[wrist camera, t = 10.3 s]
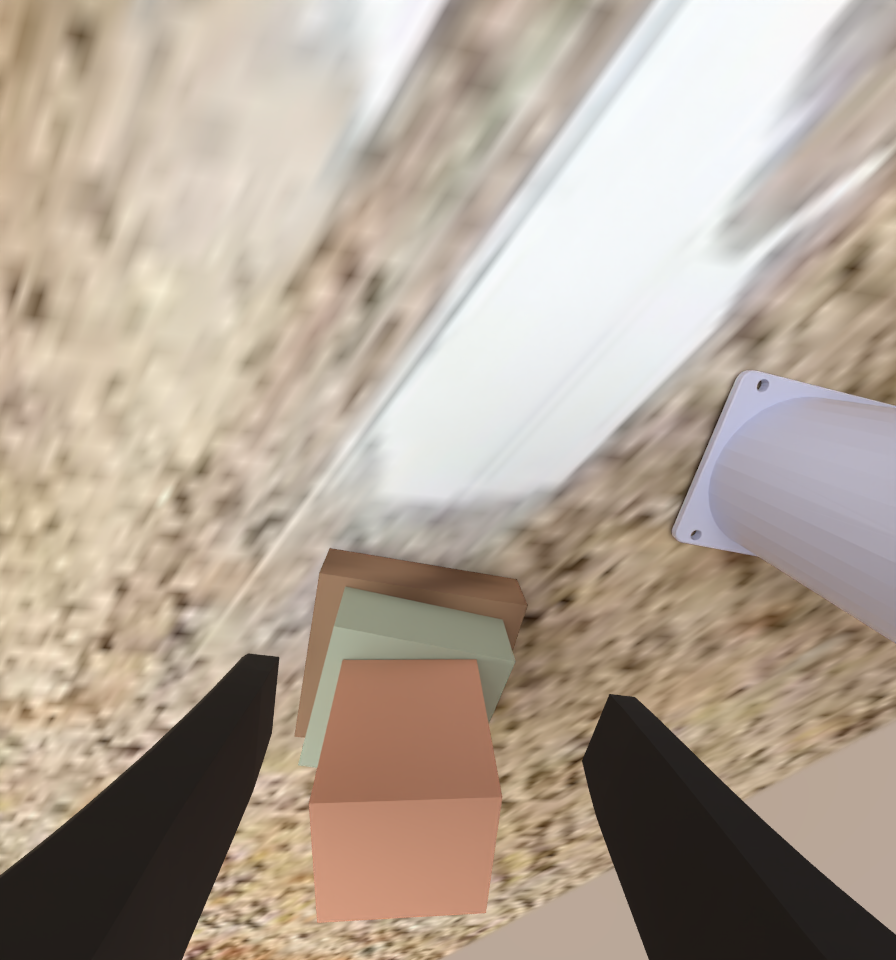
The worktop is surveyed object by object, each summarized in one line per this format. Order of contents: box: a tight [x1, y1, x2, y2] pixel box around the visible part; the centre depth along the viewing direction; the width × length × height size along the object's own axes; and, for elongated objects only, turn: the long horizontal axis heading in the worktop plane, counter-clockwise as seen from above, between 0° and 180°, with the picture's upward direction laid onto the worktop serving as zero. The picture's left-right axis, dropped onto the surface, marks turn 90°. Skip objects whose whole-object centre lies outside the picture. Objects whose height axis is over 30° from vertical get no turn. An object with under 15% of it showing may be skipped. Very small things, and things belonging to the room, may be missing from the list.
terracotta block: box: [309, 659, 502, 923], centre depth 14 cm, size 5×5×5 cm
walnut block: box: [294, 548, 528, 738], centre depth 20 cm, size 9×9×2 cm
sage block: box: [298, 587, 515, 768], centre depth 18 cm, size 7×7×2 cm
